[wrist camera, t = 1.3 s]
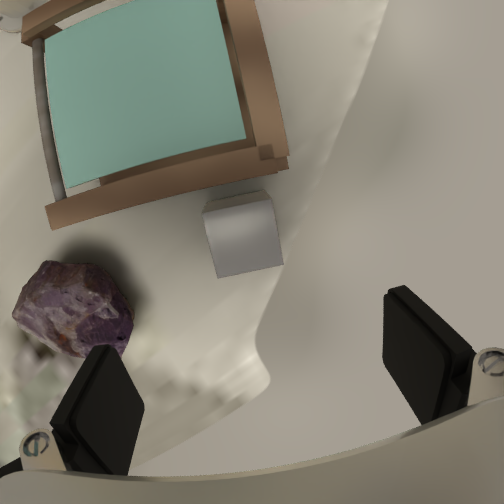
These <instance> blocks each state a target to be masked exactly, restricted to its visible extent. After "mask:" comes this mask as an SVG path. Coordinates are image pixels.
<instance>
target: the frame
mask: <svg viewBox="0 0 504 504" xmlns="http://www.w3.org/2000/svg"><path fill="white" fill-rule="evenodd" d="M103 1H105V0H50V1H48V2H46V3H45V4H43V5H41V6H39V7H38V8H36V9H34V10H33V11H31V12H29V13H28V14H26V15H24V16H23V17H22V33H21V43H23V44H25V45H28V46H30V47H32V53H33V71H34V83H35V93H36V102H37V110H38V118H39V124H40V131H41V137H42V142H43V148H44V153H45V158H46V163H47V168H48V172H49V177H50V181H51V185H52V189H53V193H54V197H55V201H56V202H55V203H52V204H49V205H47V206H45V209H46V213H47V216H48V220H49V223H50V227H51V229H52V231H53V230H56V229H59V228H62V227H65V226H68V225H71V224H75V223H78V222H81V221H84V220H88V219H91V218H94V217H98V216H101V215H104V214H108V213H111V212H115V211H118V210H122V209H125V208H129V207H132V206H136V205H140V204H144V203H147V202H151V201H155V200H159V199H163V198H167V197H170V196H174V195H178V194H183V193H187V192H191V191H195V190H199V189H204V188H208V187H212V186H217V185H221V184H226V183H230V182H235V181H240V180H244V179H249V178H254V177H259V176H264V175H269V174H274V173H278V172H277V171H281V170H286V169H289V167H288V162H287V156H290V155H289V150H288V145H287V140H286V135H285V130H284V125H283V120H282V115H281V110H280V106H279V101H278V97H277V92H276V88H275V83H274V79H273V74H272V70H271V66H270V61H269V57H268V53H267V49H266V45H265V41H264V37H263V33H262V29H261V25H260V21H259V17H258V14H257V10H256V6H255V2H254V0H216V3H217V8H218V12H219V16H220V21H221V25H222V29H223V34H224V38H225V43H226V47H227V51H228V56H229V60H230V65H231V69H232V74H233V78H234V83H235V88H236V92H237V97H238V101H239V106H240V111H241V115H242V120H243V125H244V129H245V134H246V139H243V140H238V141H233V142H229V143H224V144H219V145H215V146H211V147H206V148H202V149H198V150H194V151H190V152H186V153H182V154H178V155H174V156H170V157H166V158H163V159H159V160H156V161H152V162H148V163H145V164H142V165H138V166H135V167H131V168H128V169H125V170H122V171H118V172H115V173H112V174H109V175H106V176H103V177H100V178H99V180H100V184H101V186H100V187H97V188H94V189H91V190H88V191H85V192H83V193H80V194H77V195H74V196H71V197H68V198H67V196H66V192H65V188H64V184H63V180H62V176H61V171H60V167H59V162H58V157H57V152H56V147H55V142H54V137H53V131H52V125H51V118H50V112H49V104H48V97H47V88H46V78H45V67H44V53H45V39H47V38H49V37H51V36H53V35H55V34H57V33H59V32H61V31H63V30H62V29H60V28H59V27H57V26H56V25H54V24H55V23H57V22H59V21H61V20H63V19H65V18H67V17H69V16H71V15H73V14H75V13H78V12H80V11H82V10H84V9H86V8H89V7H91V6H93V5H96V4H98V3H100V2H103Z"/></svg>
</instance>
